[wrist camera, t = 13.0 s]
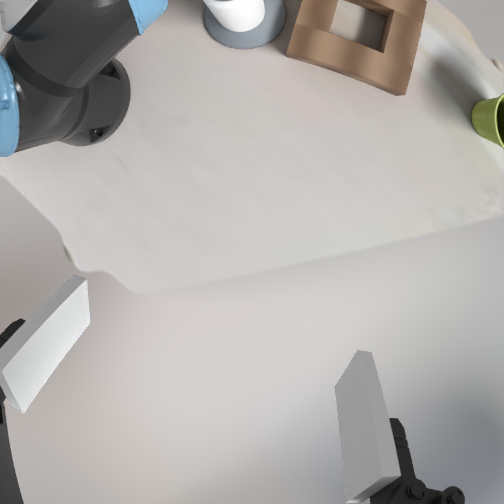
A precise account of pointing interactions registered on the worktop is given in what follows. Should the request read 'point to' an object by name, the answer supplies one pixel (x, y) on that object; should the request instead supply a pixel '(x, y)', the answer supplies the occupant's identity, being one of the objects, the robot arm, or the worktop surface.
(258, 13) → the can
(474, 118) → the plant pot
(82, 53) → the robot arm
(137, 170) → the worktop surface
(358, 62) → the pocket block
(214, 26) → the slate mat
